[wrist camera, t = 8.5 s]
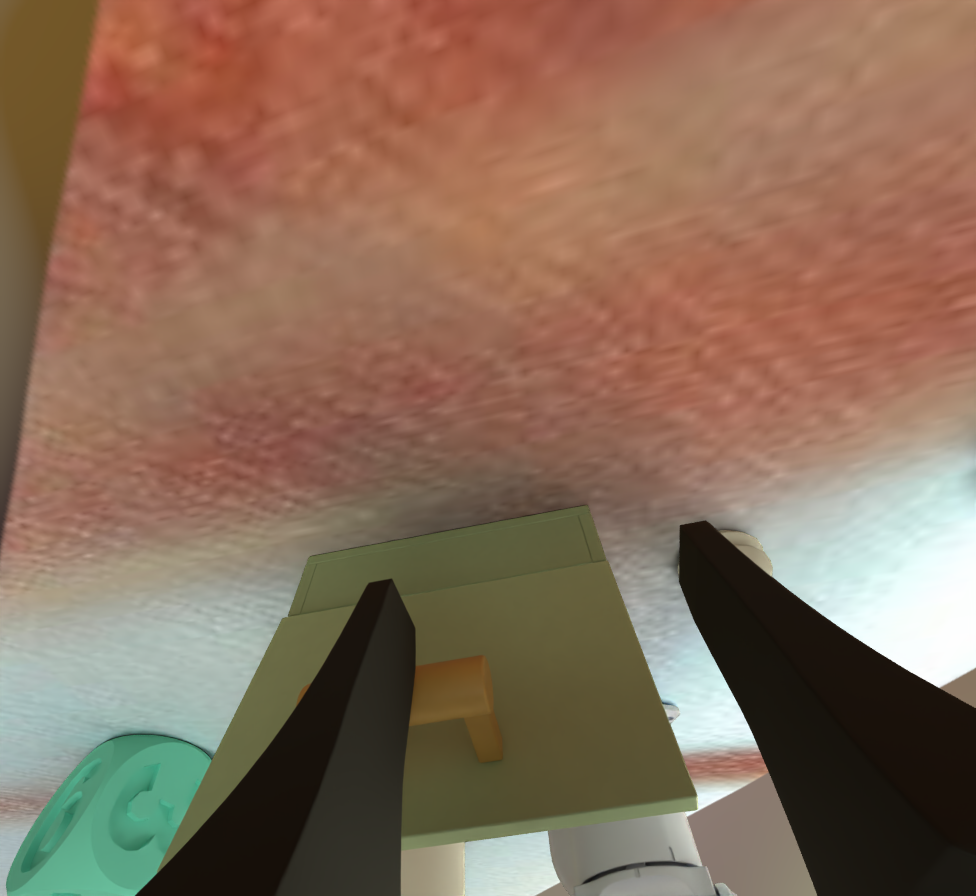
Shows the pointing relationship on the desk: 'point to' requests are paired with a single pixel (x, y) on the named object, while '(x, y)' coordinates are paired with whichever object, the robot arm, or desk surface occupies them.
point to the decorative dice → (110, 820)
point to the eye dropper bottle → (433, 871)
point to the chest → (451, 558)
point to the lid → (492, 712)
